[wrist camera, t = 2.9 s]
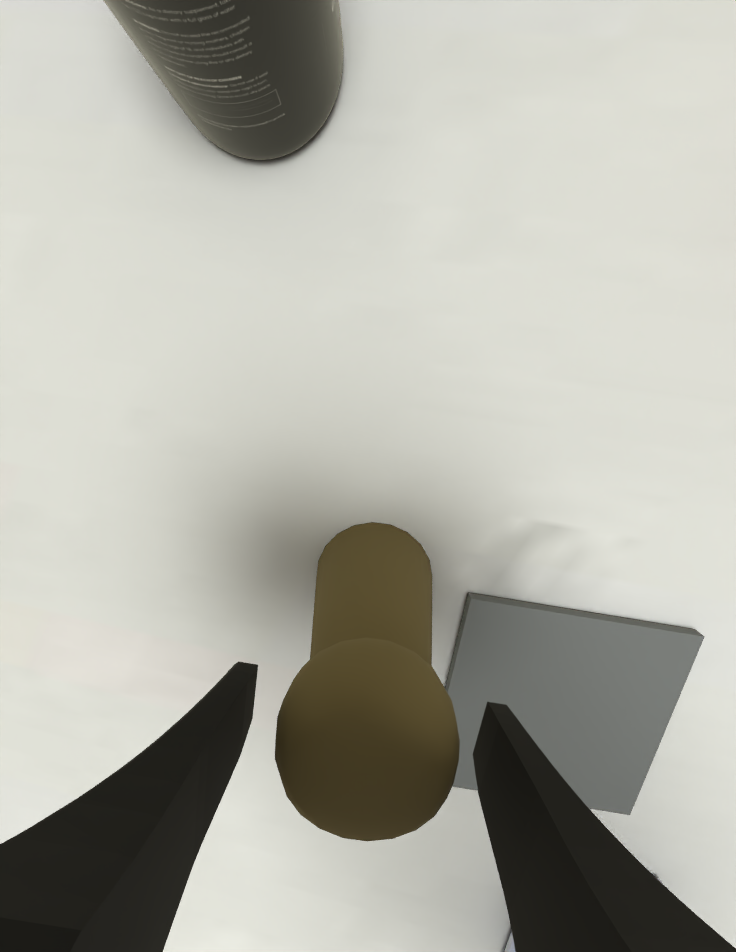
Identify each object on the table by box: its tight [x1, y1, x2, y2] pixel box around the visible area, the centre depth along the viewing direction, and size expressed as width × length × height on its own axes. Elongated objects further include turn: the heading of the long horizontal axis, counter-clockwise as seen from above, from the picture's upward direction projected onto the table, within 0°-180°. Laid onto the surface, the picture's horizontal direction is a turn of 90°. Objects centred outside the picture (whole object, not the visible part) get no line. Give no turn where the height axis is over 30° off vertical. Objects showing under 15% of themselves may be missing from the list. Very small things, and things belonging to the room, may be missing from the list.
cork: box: [275, 522, 460, 841], centre depth 15 cm, size 6×6×11 cm
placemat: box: [445, 593, 704, 815], centre depth 21 cm, size 12×12×1 cm
